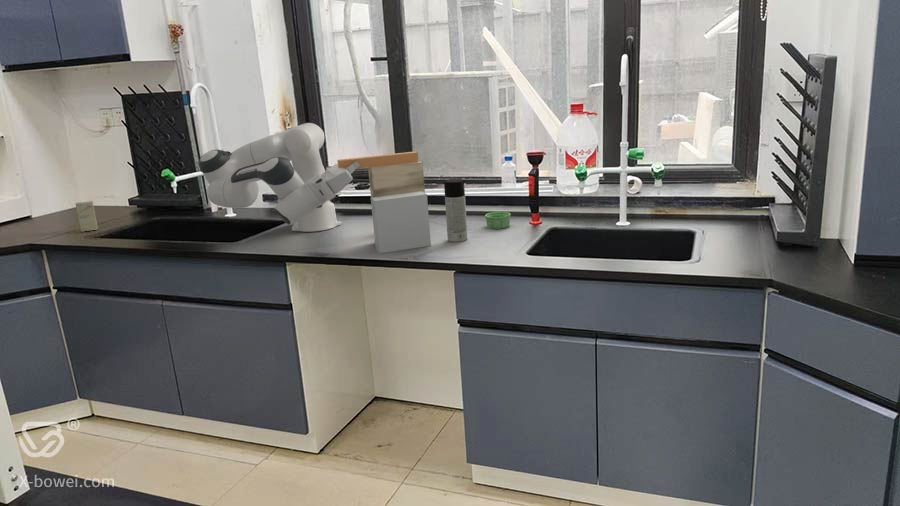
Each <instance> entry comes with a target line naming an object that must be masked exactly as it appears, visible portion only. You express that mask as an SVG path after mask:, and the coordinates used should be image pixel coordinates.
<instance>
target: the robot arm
mask: <svg viewBox="0 0 900 506" xmlns="http://www.w3.org/2000/svg"><path fill="white" fill-rule="evenodd" d="M324 143H325V133H324V130H323V129H322V128H321V127H320V126H319V125H317V124H316V123H312V122H305V123H301V124H299V125H297V126H293V127H291V128H289V129H286V130H283V131H281V132H280V131H279V132H276V133H275V134H271V135H269V136H266V137H263V138H260V139H257V140H255V141H252V142H249V143H247V144H245V145H242V146H240V147H238V148H237V149H235V150H233V151H232V152H230V151H228V150H224V149H212V150H209V151H207V152H205V153H204V154H203V155H201V156H200V158H198V159H199V160H198V163H197V164H198V168H199V170H200V172H201V173H202V174H203V176H204V178H205V180H206V182H207V184H208V186H207V188H206V189H207V190H206V194H207V197H208V200H209V201H210V202H211V203H212V204H213V205H215V206H218V207H219V206H220V207H221V208H223V207H224V208H231V209H244V208H249V207H250V206H252V205H253V204H254V203H255V202H256V201H257V199H258V196H259V185H258V181H262V182H264V183H265V184H266V185H267V186H268V187H269V188H270V189H271V190H272V191H273V193H274V194H275V195H276V196H277V200H278V202H277V204H276V206H275V207H274V212H275V213H276V215H277V216H278V217H279V218H280V219H281V221H283V222H284V223H285V224H287V225H289V226H291V225H292V226H291V231H292V232H303V233H306V232H309V233H310V232H321V231H326V230H329V229H330V230H331V229H333V228H335V227H337V226H340V225H342V221H340V220H338V219H337V214H336V209H335V204H334V202H332V201H331V200H333V199H334V198H336V196H337V195H336V194H338V193H340V192H341V191H342V190H343V189H344V188H345V187H347V186H348V185H349V184H350V183H351V182H352V181H353V179H354V178H353V176H352V174H353V173H354V172H355V170H357V169H356V168H358V167H359V166H360V165H359V163H358V162H357V161H355V162H354V163H352V165H350V166H349V167H347V168H346V169H344V168H343V167H341V168H339V167H338V163H334V164H333V165H331V166H330V167H329V168H327V170H325V166H324V165H323V162H322V157H321V155H320V154H321V153H320V149H322V147H323V145H324Z"/></svg>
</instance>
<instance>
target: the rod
mask: <svg viewBox="0 0 900 506" xmlns="http://www.w3.org/2000/svg"><path fill="white" fill-rule="evenodd" d="M418 154H419V153H418V151H407V152H406V151H405V152H399V153H390V154H389V153H388V154H380V155H369V156H362V157H361V156H360V157H352V158H351V157H350V158H341V159H337V161H336V162H337V164H338V167H339V168H341V167H343V168H344V169H346V168H347V167H349V166H350V165H352V163H354V162H355V161H357V162H358V163H359V165H360V166H359V167H358V168H356V169H355V170H358V169H359V170H360V169H368V168H371V167H379V166H388V165H397V164H406V163H415V162H418V161H419V155H418Z"/></svg>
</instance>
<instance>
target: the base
mask: <svg viewBox="0 0 900 506" xmlns="http://www.w3.org/2000/svg"><path fill="white" fill-rule="evenodd" d="M370 203H371V217H372V225H373V235H374V236H373V237H374V244H375V250H376V251H377V252H378V253H379V254H385V253H390V252H398V251H405V250H411V249H417V248H418V249H419V248H424V247H430V246H432V243H431V230H430V218H429V216H430V215H429V206H428V203H429V202H428V194H427V193H426V192H425V193H424V192H422V191H420V192H412V193H405V194H397V195H389V196H381V197H373V198H371V197H370Z"/></svg>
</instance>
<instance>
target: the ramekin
mask: <svg viewBox="0 0 900 506" xmlns="http://www.w3.org/2000/svg"><path fill="white" fill-rule="evenodd" d="M485 221H486V227H487V228H489V229H492V230H499V229H506V228H508V227H510V223H511V213H510V212H507V211H494V212H493V211H492V212H488V213H486V214H485Z"/></svg>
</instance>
